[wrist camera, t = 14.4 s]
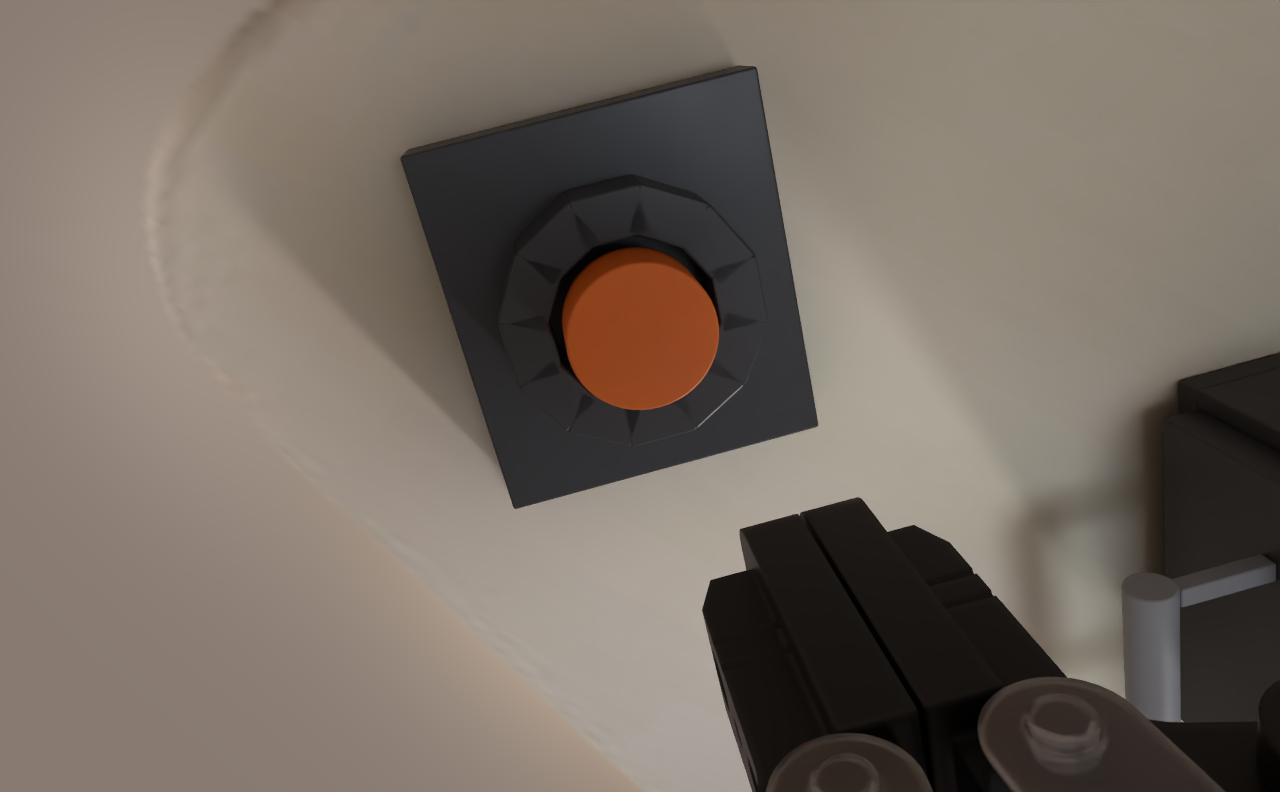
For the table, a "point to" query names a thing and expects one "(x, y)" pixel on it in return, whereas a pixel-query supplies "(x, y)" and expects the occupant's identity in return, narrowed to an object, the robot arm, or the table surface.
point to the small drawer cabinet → (1239, 398)
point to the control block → (592, 226)
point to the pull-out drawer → (1208, 581)
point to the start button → (639, 328)
